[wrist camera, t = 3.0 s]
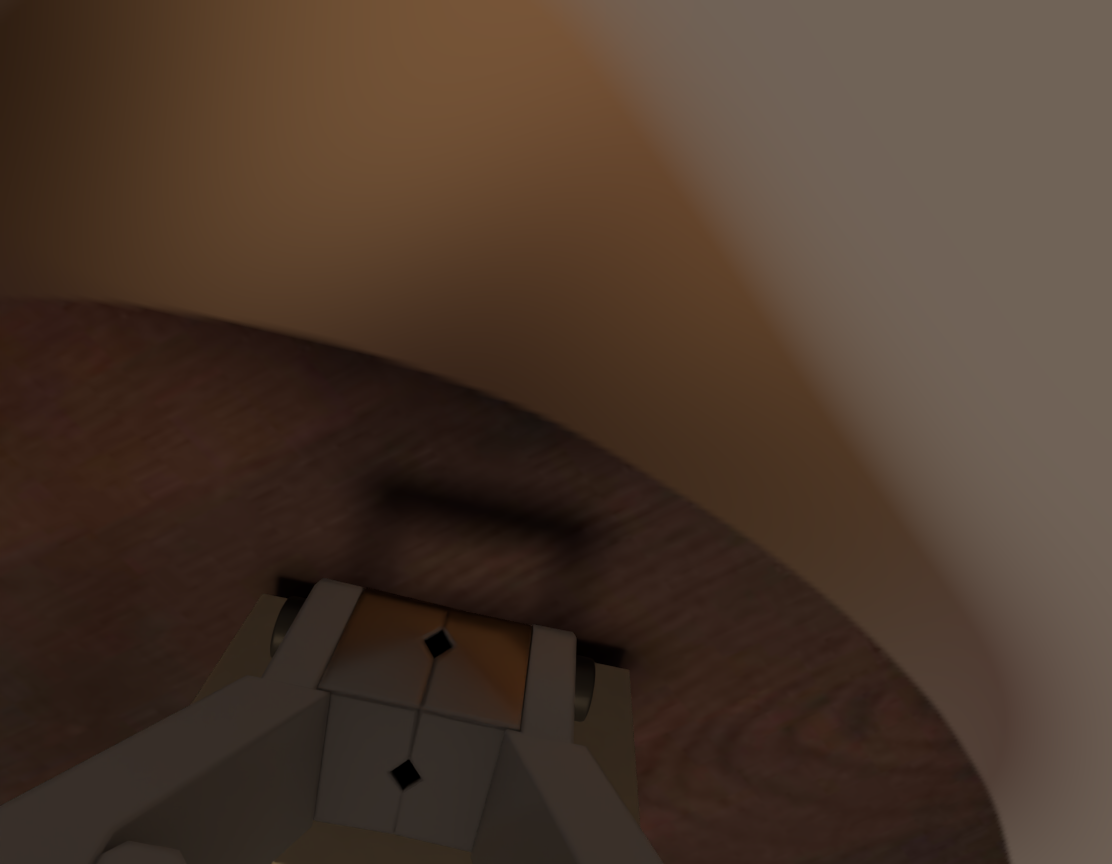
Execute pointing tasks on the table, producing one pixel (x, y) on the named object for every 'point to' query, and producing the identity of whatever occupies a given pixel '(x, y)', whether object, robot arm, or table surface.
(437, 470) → the table surface
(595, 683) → the drawer
